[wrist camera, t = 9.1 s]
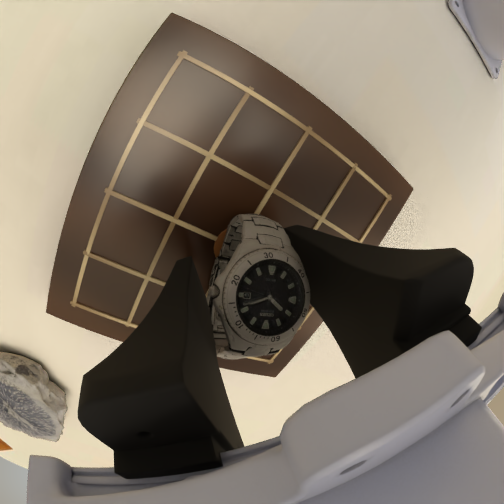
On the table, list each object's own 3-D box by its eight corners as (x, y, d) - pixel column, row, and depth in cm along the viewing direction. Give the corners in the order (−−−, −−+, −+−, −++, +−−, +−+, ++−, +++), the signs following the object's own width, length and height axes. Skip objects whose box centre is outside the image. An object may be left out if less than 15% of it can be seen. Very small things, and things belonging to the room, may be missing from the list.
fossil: (-12, 354, 9) (91, 460, 13) (20, 320, 13) (104, 420, 17) (-51, 374, 10) (21, 454, 13) (-30, 350, 14) (34, 426, 17)
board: (171, 21, 8) (171, 11, 7) (400, 182, 15) (415, 189, 14) (51, 299, 12) (45, 314, 11) (270, 365, 19) (276, 379, 18)
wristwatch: (285, 212, 12) (347, 270, 8) (243, 321, 15) (275, 397, 10) (208, 194, 11) (236, 252, 7) (177, 315, 13) (190, 400, 9)
